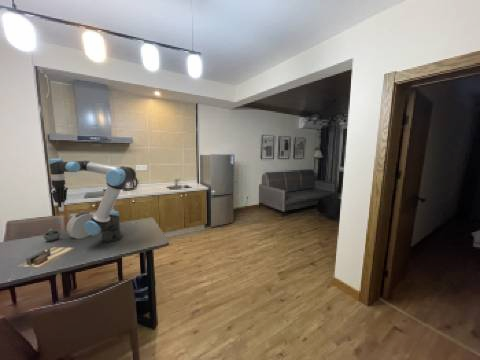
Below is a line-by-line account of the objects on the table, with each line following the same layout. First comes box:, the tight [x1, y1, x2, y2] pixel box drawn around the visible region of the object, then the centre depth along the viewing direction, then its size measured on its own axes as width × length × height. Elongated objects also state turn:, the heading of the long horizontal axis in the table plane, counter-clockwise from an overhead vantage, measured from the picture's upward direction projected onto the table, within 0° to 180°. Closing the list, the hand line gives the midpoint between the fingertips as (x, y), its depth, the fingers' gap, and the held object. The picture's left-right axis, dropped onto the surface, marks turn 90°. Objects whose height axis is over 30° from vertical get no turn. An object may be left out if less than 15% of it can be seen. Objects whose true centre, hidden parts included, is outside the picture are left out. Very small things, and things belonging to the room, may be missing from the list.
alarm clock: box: [65, 211, 93, 240], centre depth 173 cm, size 21×8×20 cm, turn 159°
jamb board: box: [18, 246, 76, 268], centre depth 138 cm, size 16×25×5 cm, turn 179°
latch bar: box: [25, 248, 51, 264], centre depth 134 cm, size 13×4×4 cm, turn 175°
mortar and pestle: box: [43, 228, 61, 243], centre depth 161 cm, size 11×9×12 cm
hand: (61, 210), depth 156 cm, fingers closed
